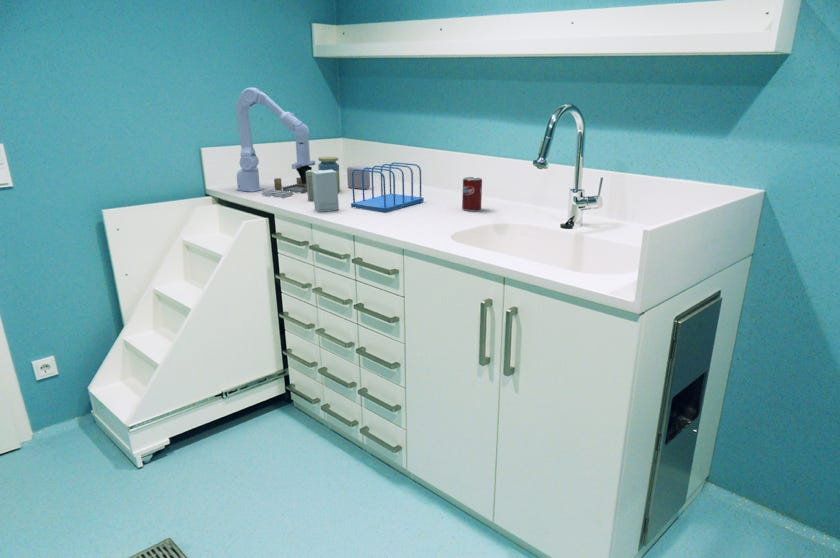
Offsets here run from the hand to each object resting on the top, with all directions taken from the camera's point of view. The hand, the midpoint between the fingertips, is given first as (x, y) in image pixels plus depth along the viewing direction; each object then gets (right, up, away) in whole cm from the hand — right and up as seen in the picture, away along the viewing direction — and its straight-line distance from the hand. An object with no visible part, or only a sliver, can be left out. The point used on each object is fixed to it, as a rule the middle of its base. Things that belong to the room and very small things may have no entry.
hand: (304, 183), depth 264 cm
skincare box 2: (+16, -17, -40) cm, 46 cm away
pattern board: (0, -2, +3) cm, 4 cm away
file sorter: (+39, -14, -30) cm, 51 cm away
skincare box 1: (+9, -11, -22) cm, 26 cm away
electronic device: (+24, -2, +5) cm, 24 cm away
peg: (-11, -5, -5) cm, 13 cm away
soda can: (+72, -17, -39) cm, 83 cm away
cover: (+2, 0, +6) cm, 6 cm away
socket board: (-9, -7, -12) cm, 17 cm away
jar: (+12, -5, -4) cm, 13 cm away
